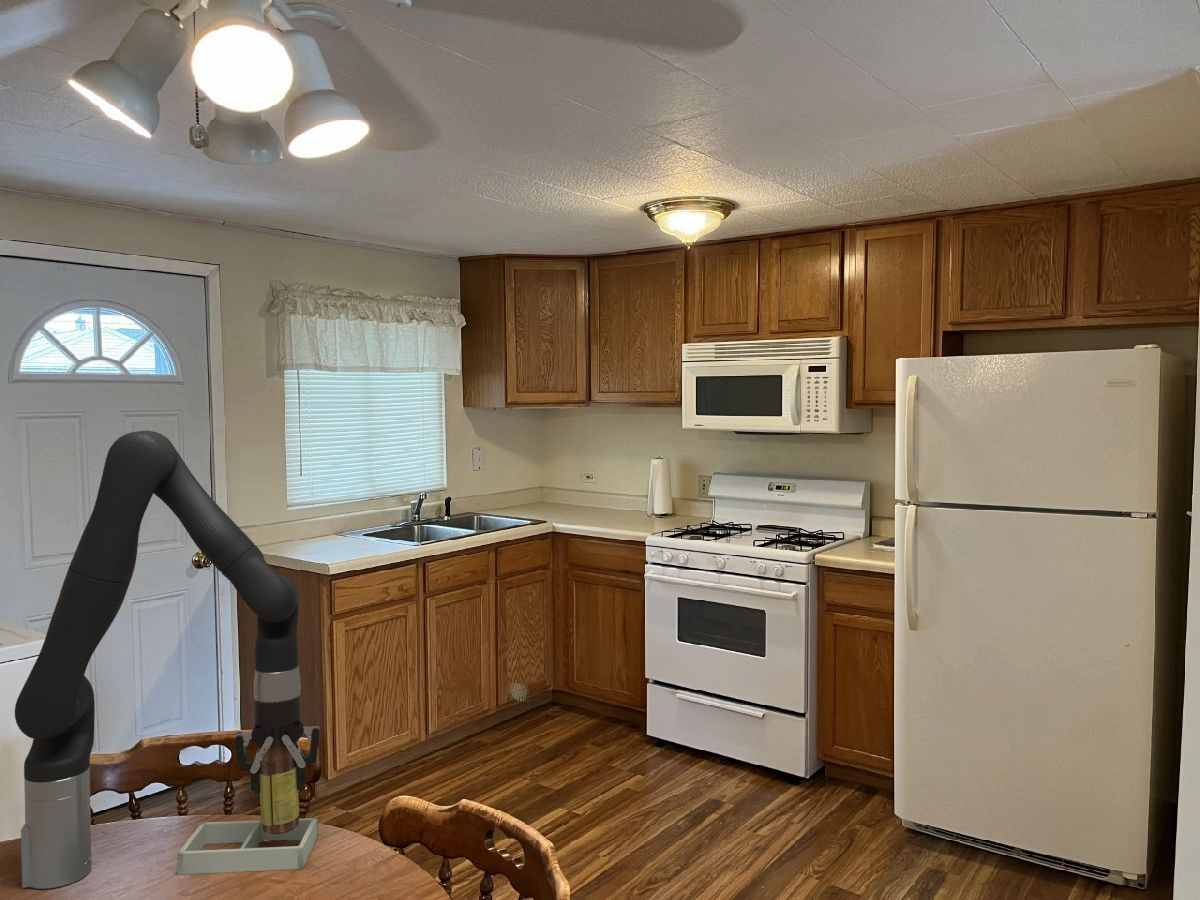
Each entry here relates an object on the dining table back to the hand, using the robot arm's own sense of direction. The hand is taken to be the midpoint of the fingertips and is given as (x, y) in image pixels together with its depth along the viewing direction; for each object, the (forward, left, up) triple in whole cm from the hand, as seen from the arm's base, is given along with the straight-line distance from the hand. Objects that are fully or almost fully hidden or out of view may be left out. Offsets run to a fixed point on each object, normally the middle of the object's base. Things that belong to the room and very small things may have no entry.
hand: (278, 789), depth 156 cm
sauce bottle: (0, 0, -7) cm, 7 cm away
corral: (-5, +1, -11) cm, 12 cm away
